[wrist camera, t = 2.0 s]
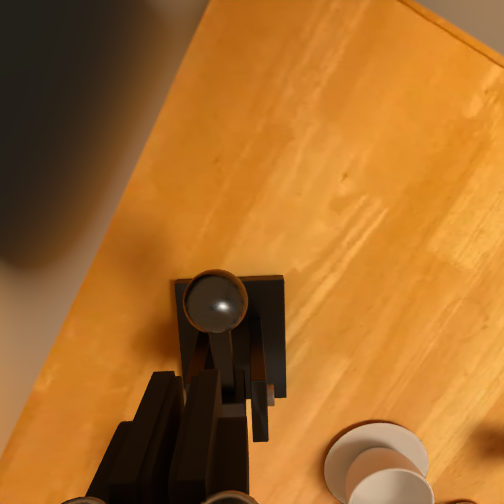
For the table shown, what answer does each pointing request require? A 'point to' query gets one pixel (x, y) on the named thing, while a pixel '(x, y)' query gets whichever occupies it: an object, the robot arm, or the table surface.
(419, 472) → the teacup
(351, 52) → the table surface
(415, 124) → the table surface
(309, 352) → the table surface
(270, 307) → the black lever base
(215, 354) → the ball knob lever
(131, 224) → the table surface
